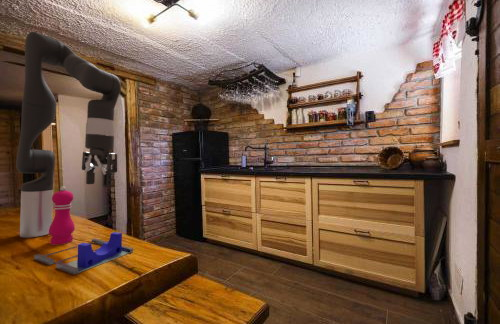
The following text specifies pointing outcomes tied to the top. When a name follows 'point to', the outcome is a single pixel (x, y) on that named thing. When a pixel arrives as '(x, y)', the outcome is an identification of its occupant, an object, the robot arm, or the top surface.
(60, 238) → the pepper mill
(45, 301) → the top surface
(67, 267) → the panel
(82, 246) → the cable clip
